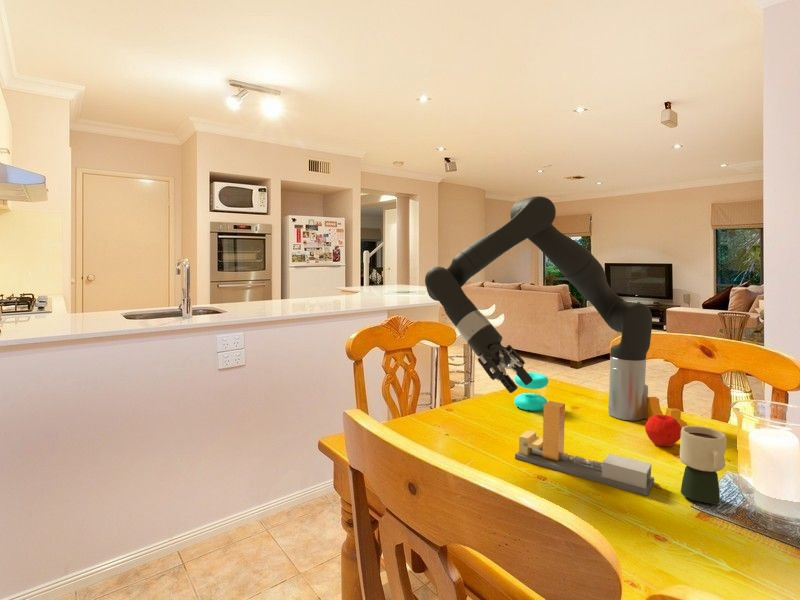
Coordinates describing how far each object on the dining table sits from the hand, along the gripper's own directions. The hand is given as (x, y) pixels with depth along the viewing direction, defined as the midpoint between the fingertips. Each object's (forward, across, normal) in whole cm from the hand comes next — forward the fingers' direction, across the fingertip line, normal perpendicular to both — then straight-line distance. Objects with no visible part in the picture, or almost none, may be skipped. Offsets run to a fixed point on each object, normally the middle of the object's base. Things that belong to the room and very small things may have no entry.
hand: (522, 386), depth 105 cm
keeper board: (+21, 0, +2) cm, 21 cm away
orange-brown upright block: (+18, 0, +3) cm, 18 cm away
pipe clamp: (+28, +41, -5) cm, 50 cm away
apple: (+29, +26, -6) cm, 40 cm away
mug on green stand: (+36, +2, -13) cm, 39 cm away
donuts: (+3, +34, +20) cm, 40 cm away
